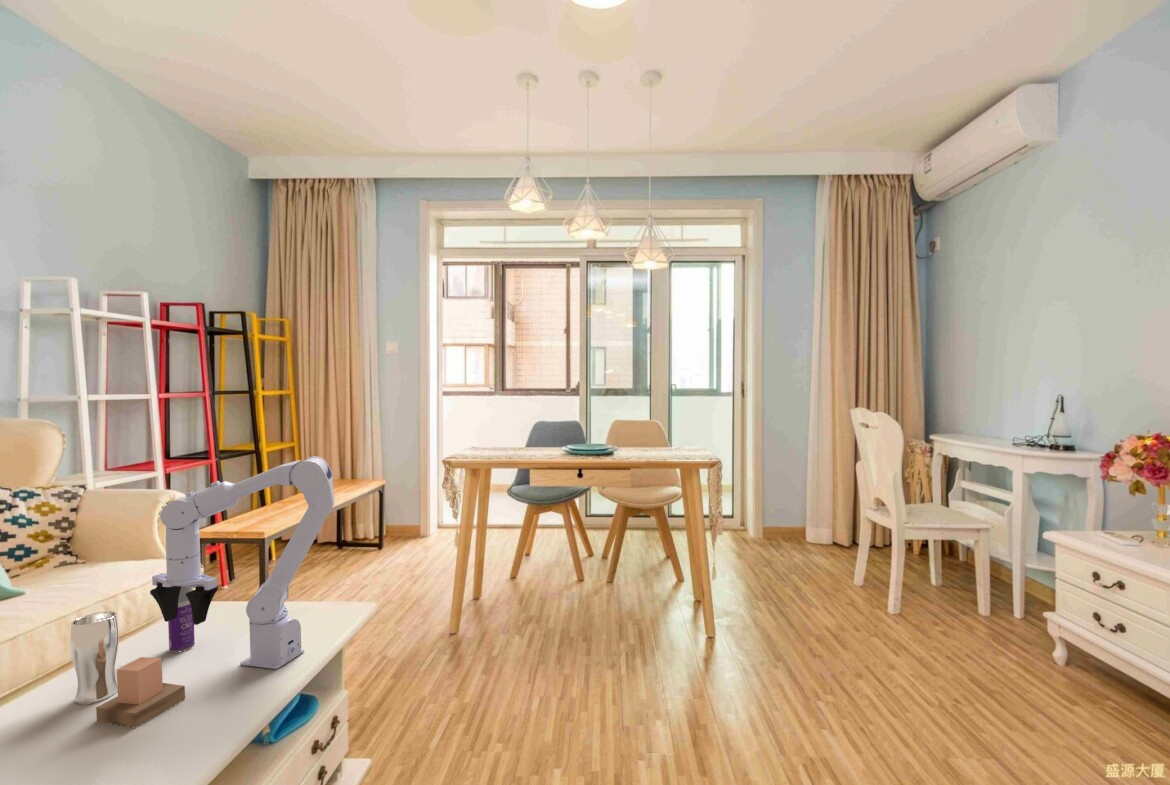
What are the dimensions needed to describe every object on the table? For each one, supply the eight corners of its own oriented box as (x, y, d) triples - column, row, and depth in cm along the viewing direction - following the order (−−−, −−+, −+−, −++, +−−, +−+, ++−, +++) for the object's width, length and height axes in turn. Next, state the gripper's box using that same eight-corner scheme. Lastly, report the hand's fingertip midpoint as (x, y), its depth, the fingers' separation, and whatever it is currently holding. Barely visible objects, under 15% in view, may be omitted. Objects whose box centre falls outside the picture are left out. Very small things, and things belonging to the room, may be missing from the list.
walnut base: (185, 701, 104) (184, 685, 104) (135, 730, 95) (135, 713, 95) (148, 696, 106) (147, 680, 106) (96, 724, 98) (96, 707, 98)
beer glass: (129, 689, 108) (126, 612, 108) (87, 709, 102) (84, 627, 101) (105, 683, 110) (103, 609, 110) (63, 702, 104) (60, 623, 104)
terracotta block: (162, 690, 103) (161, 658, 102) (139, 704, 98) (137, 670, 98) (142, 688, 103) (140, 657, 103) (118, 702, 99) (116, 669, 99)
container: (184, 652, 123) (182, 585, 123) (163, 653, 123) (161, 586, 123) (199, 643, 127) (197, 578, 127) (179, 643, 128) (177, 578, 127)
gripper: (136, 559, 112) (138, 626, 112) (193, 564, 109) (195, 632, 109) (170, 549, 119) (171, 612, 119) (224, 553, 116) (226, 617, 116)
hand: (185, 621), depth 115 cm, fingers open, 7 cm apart
